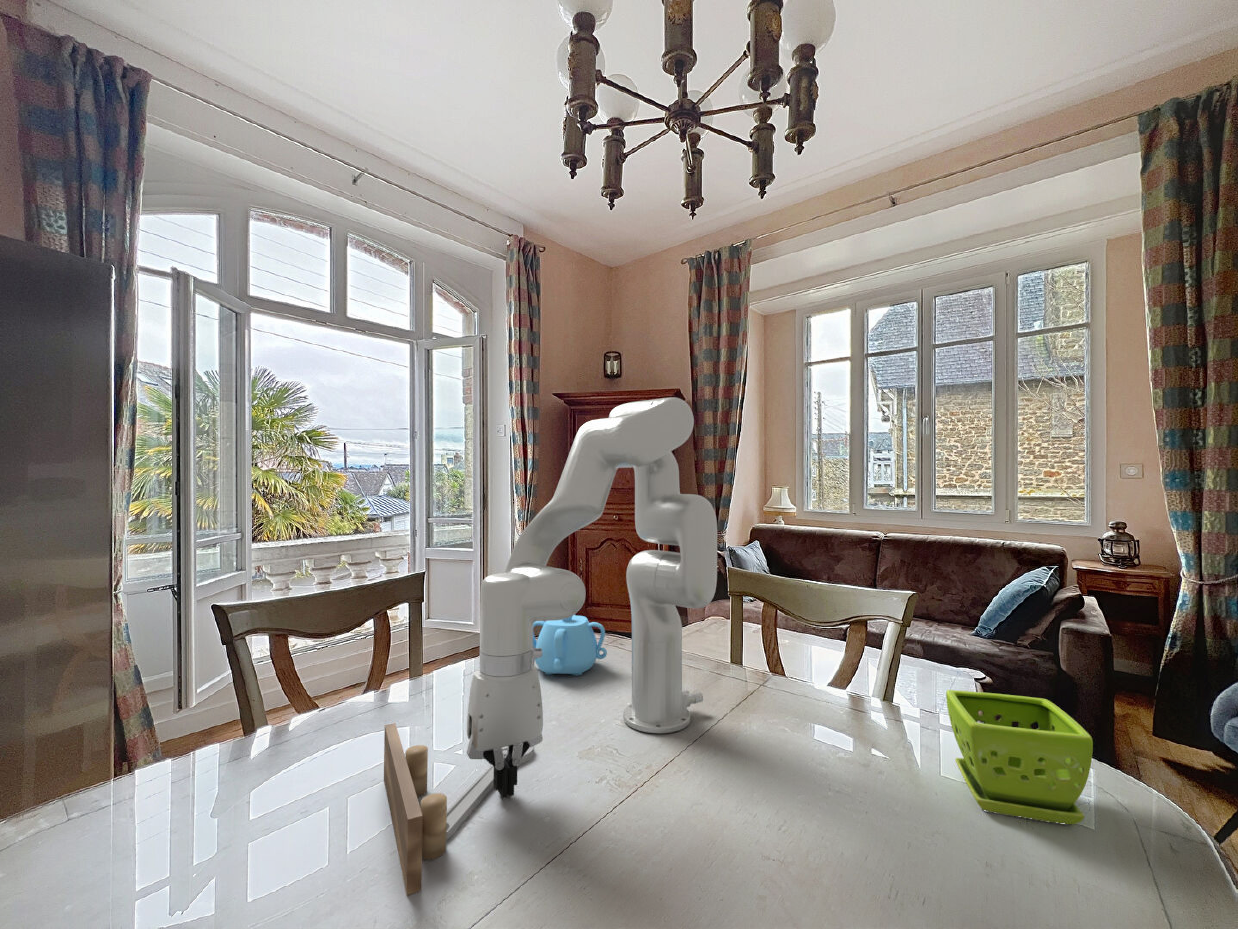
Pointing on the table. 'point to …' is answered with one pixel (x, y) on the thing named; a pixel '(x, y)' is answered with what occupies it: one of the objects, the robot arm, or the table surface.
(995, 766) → the flower pot
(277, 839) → the table surface
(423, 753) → the tool rack
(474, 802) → the adjustable wrench
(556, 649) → the decorative pot
